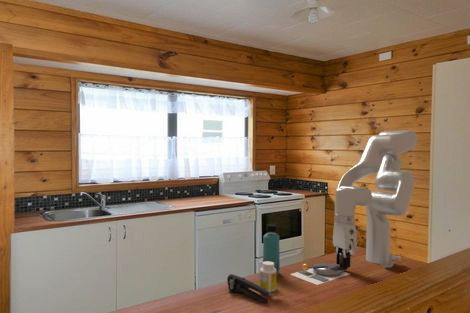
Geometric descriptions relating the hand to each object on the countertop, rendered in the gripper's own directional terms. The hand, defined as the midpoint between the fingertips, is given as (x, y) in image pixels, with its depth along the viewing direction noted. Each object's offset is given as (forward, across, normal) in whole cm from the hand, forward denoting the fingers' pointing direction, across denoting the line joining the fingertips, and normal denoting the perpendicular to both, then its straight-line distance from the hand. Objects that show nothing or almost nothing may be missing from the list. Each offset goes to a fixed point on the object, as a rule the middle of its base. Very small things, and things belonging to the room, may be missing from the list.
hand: (343, 265), depth 137 cm
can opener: (+4, -9, +43) cm, 44 cm away
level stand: (+4, -1, +11) cm, 11 cm away
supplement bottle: (+4, -10, +36) cm, 37 cm away
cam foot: (+2, 0, +7) cm, 7 cm away
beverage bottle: (+4, +5, +29) cm, 29 cm away
